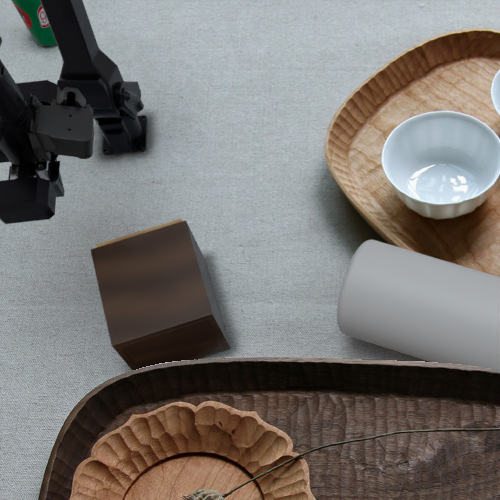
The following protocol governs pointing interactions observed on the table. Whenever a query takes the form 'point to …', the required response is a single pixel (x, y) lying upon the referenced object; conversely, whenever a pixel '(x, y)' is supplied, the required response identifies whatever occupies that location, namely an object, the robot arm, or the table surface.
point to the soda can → (35, 21)
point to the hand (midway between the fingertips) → (60, 194)
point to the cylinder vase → (421, 306)
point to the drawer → (138, 233)
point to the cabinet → (159, 298)
